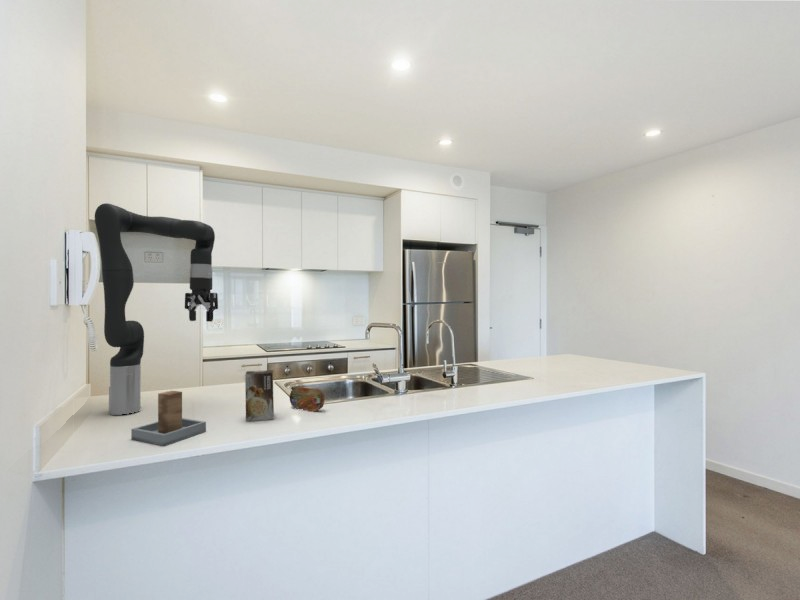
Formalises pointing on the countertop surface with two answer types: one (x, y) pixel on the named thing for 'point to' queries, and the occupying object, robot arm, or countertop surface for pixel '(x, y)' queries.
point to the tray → (152, 436)
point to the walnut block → (169, 411)
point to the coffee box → (259, 395)
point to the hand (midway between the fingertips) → (201, 321)
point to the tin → (307, 398)
